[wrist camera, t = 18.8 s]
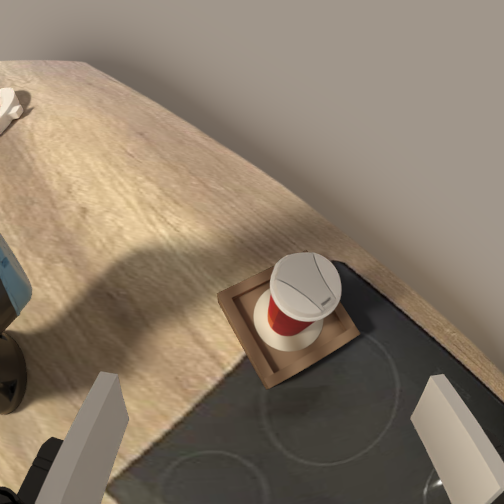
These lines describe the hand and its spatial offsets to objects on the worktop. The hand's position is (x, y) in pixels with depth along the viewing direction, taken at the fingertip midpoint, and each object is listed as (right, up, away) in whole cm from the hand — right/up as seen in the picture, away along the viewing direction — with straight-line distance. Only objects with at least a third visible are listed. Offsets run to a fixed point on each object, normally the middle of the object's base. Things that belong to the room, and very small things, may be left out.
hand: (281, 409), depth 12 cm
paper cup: (+4, -3, +33) cm, 33 cm away
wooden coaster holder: (+4, -4, +36) cm, 36 cm away
